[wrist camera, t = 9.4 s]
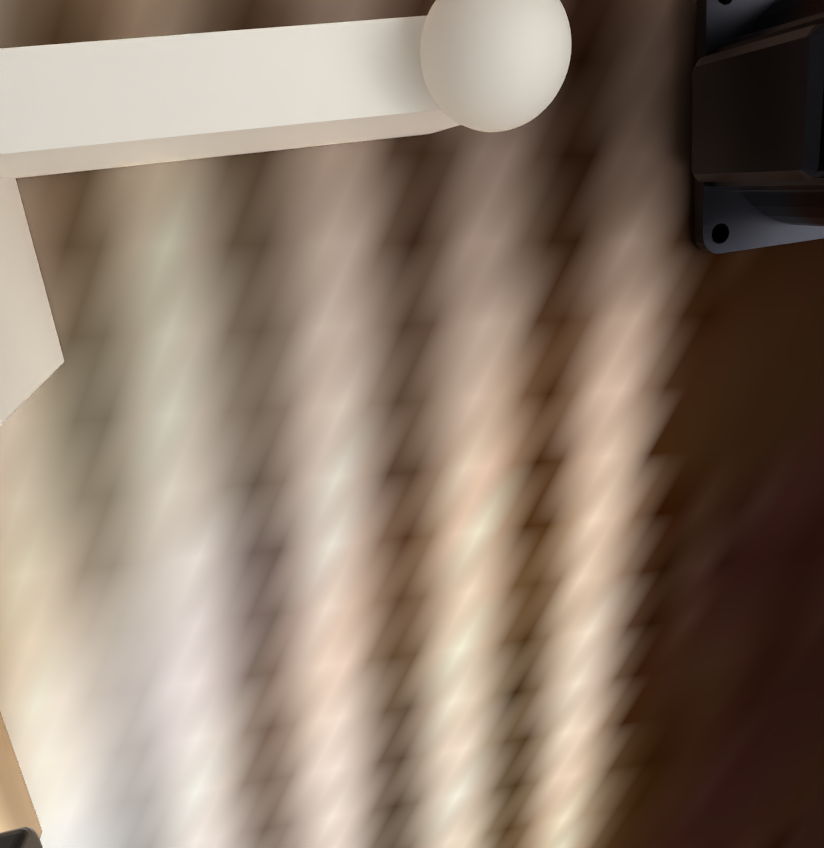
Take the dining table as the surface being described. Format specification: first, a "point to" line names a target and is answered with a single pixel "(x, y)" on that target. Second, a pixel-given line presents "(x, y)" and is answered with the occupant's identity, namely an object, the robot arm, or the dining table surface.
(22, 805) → the rail
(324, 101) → the headboard
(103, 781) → the dining table surface
